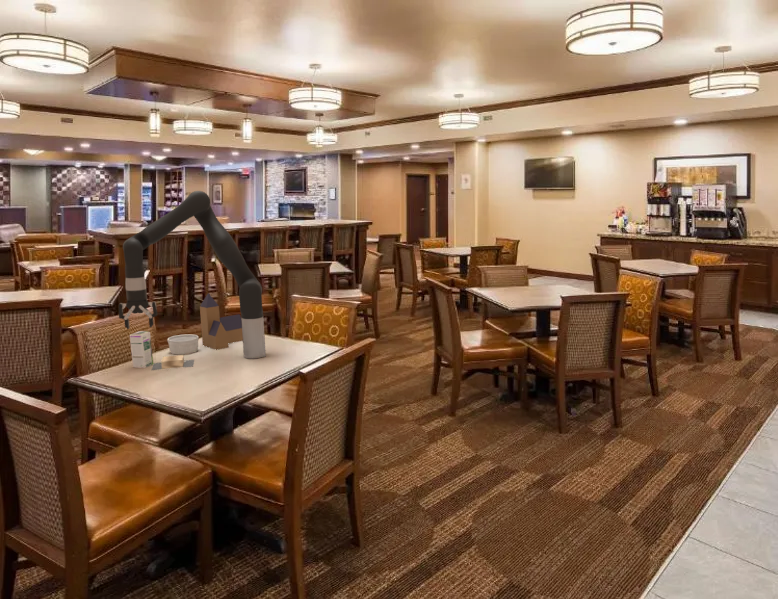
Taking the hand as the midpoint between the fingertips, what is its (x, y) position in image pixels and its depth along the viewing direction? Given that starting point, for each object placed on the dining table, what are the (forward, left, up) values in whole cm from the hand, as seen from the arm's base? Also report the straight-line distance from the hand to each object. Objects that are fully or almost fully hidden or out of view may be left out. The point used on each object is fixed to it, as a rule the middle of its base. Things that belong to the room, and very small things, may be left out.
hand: (139, 327), depth 241 cm
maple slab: (-12, +4, -16) cm, 20 cm away
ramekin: (-15, -19, -17) cm, 29 cm away
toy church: (-34, -29, -17) cm, 48 cm away
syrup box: (0, 0, -17) cm, 17 cm away
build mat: (-12, +3, -17) cm, 21 cm away
